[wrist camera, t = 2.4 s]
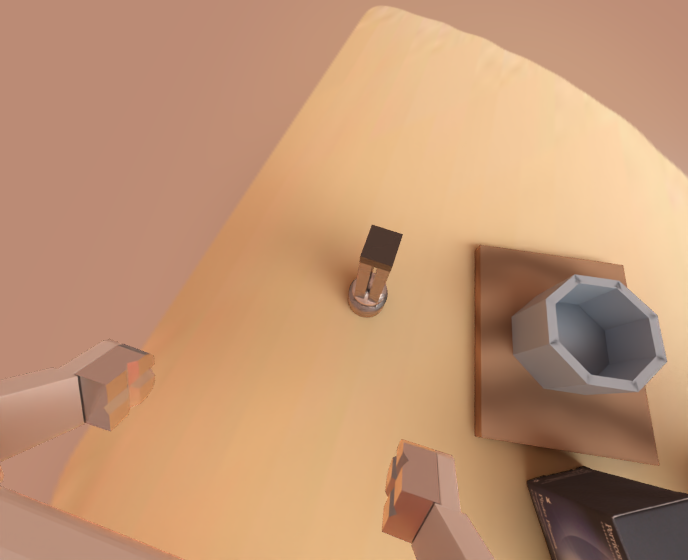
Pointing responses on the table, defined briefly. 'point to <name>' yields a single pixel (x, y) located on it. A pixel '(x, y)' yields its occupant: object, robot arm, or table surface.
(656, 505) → the small box
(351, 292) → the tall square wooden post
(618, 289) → the utensil crock
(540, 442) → the serving board
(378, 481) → the table surface
